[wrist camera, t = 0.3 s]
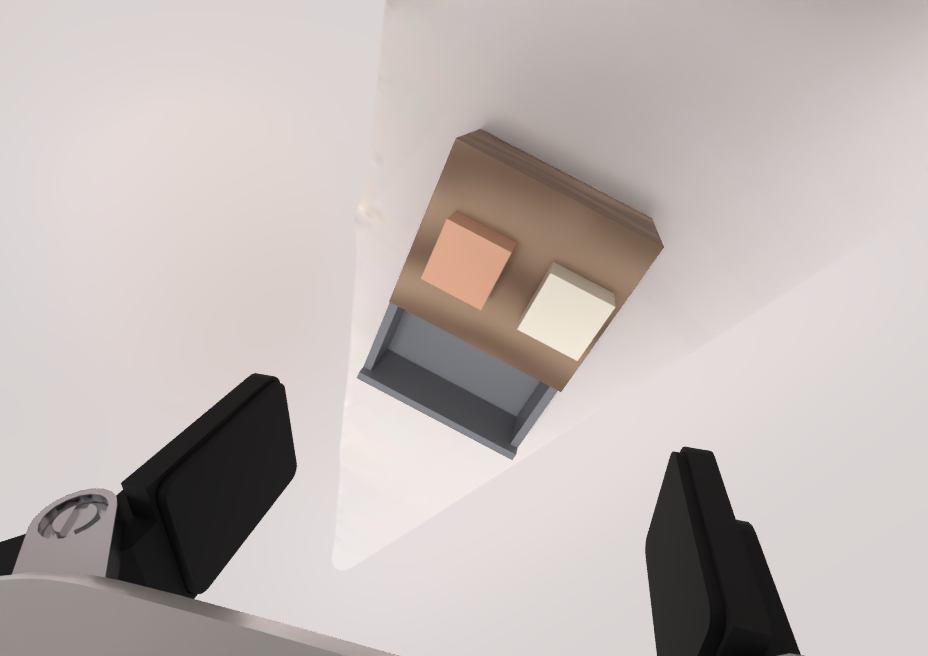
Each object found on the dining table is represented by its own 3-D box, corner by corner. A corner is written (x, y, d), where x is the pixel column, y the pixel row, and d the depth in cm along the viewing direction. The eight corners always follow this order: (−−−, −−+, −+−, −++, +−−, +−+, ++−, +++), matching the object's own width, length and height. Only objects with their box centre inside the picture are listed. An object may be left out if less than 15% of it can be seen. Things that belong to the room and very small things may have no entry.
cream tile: (553, 261, 35) (550, 273, 33) (614, 293, 35) (615, 307, 33) (521, 315, 38) (517, 329, 36) (578, 345, 38) (577, 361, 36)
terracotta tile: (456, 210, 35) (446, 218, 33) (516, 242, 35) (511, 252, 33) (430, 267, 38) (420, 278, 36) (487, 297, 38) (480, 310, 36)
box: (414, 267, 47) (392, 290, 42) (570, 349, 47) (567, 382, 42) (380, 348, 52) (356, 378, 47) (520, 422, 52) (512, 460, 47)
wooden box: (480, 128, 40) (456, 138, 33) (651, 218, 40) (663, 247, 33) (419, 269, 47) (389, 301, 40) (566, 346, 47) (560, 392, 40)
